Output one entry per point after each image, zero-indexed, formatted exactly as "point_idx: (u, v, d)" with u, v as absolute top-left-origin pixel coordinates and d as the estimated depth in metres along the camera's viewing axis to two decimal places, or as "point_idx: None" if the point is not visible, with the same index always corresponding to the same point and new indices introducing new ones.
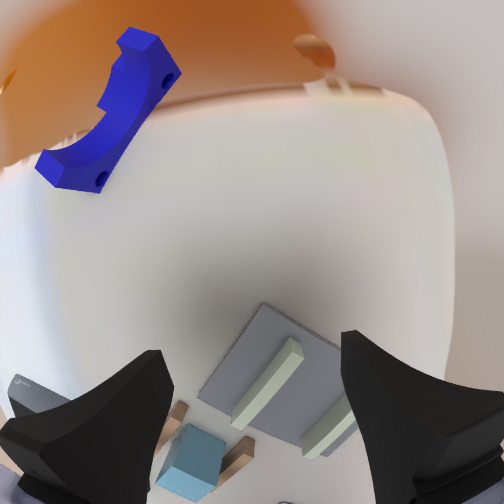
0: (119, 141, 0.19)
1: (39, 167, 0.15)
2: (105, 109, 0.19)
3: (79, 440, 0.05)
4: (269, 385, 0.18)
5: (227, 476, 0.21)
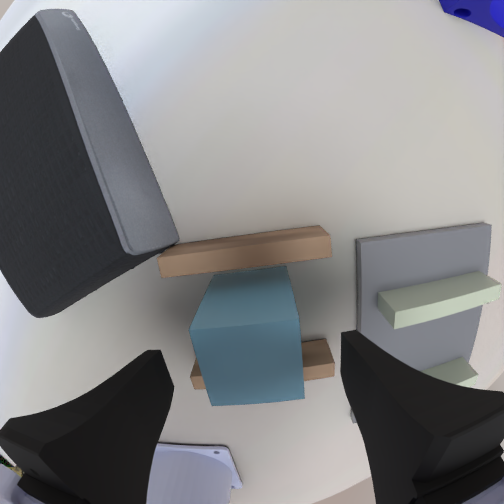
0: (495, 23, 0.09)
1: None
2: None
3: (79, 440, 0.05)
4: (468, 298, 0.12)
5: None
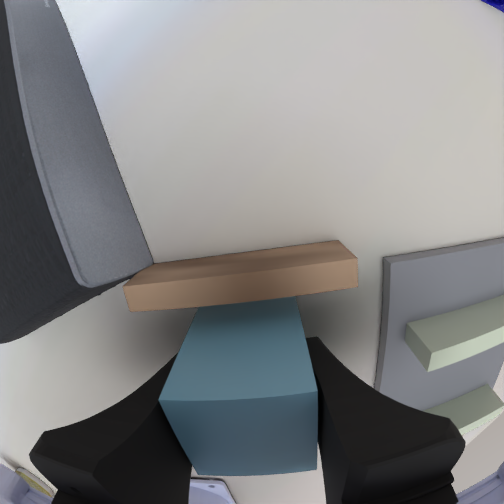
0: None
1: None
2: None
3: (130, 451, 0.05)
4: None
5: None
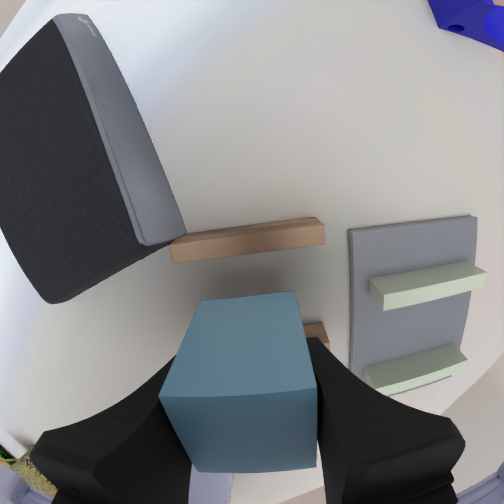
0: (488, 36, 0.10)
1: None
2: None
3: (130, 451, 0.05)
4: (453, 284, 0.14)
5: None
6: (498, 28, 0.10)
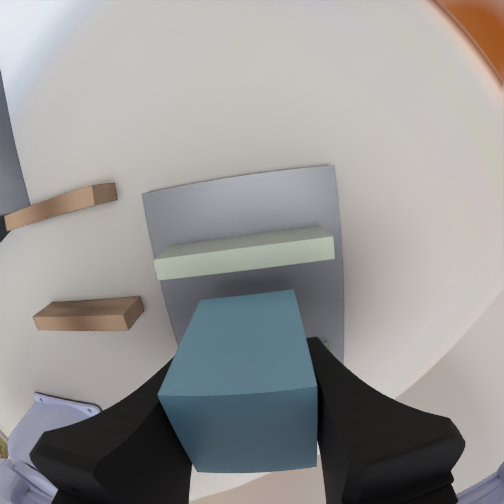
0: None
1: None
2: None
3: (130, 451, 0.05)
4: (262, 251, 0.12)
5: (74, 326, 0.15)
6: None
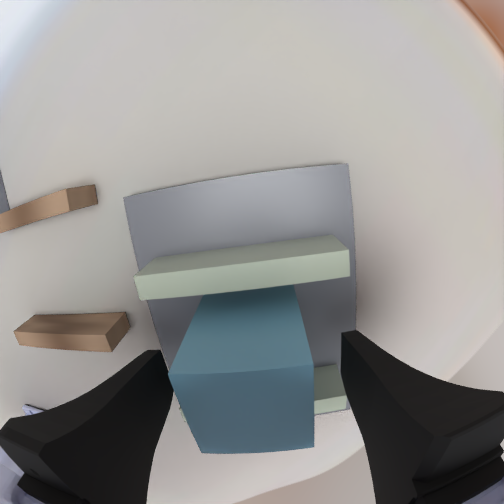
0: None
1: None
2: None
3: (79, 440, 0.05)
4: (263, 268, 0.10)
5: (55, 344, 0.13)
6: None
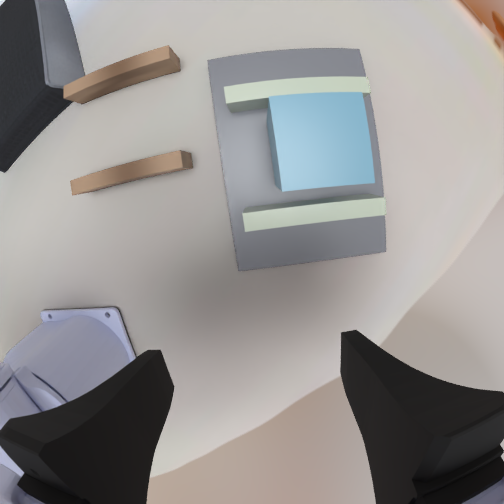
0: None
1: None
2: None
3: (79, 440, 0.05)
4: (316, 81, 0.13)
5: (120, 176, 0.16)
6: None
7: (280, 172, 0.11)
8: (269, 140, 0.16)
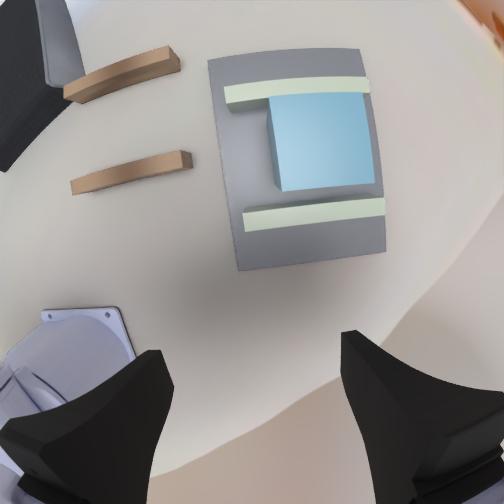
0: None
1: None
2: None
3: (79, 440, 0.05)
4: (316, 81, 0.13)
5: (120, 176, 0.16)
6: None
7: (280, 172, 0.11)
8: (269, 140, 0.16)
